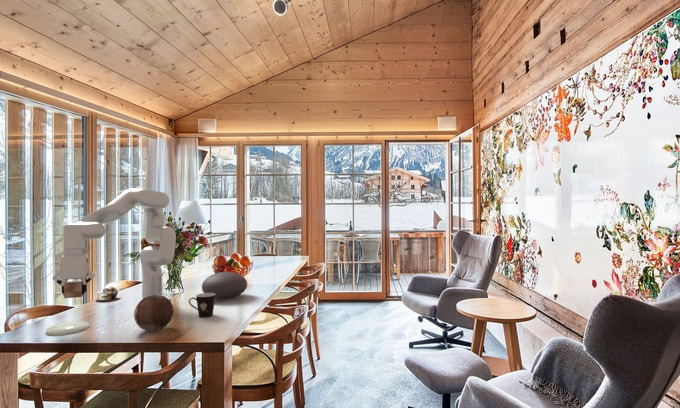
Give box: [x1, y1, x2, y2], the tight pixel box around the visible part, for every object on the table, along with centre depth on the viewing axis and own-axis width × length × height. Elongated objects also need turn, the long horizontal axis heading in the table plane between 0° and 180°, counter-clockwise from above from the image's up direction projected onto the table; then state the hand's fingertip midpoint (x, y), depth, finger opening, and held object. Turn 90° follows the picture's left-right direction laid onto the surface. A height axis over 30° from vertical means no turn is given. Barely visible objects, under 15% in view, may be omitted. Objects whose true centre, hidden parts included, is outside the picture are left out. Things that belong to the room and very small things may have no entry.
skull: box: [95, 285, 121, 302], centre depth 219 cm, size 12×10×10 cm
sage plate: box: [45, 321, 90, 336], centre depth 166 cm, size 15×15×1 cm
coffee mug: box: [188, 292, 216, 319], centre depth 186 cm, size 12×9×10 cm
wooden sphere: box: [133, 294, 174, 332], centre depth 164 cm, size 15×15×15 cm
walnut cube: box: [63, 280, 85, 299], centre depth 165 cm, size 6×6×6 cm
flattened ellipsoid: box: [201, 271, 248, 300], centre depth 220 cm, size 25×25×15 cm
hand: (74, 293), depth 165 cm, fingers closed on walnut cube, 6 cm apart
